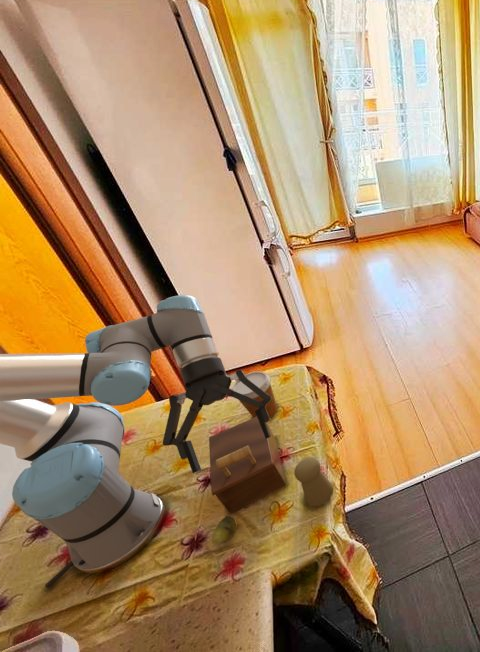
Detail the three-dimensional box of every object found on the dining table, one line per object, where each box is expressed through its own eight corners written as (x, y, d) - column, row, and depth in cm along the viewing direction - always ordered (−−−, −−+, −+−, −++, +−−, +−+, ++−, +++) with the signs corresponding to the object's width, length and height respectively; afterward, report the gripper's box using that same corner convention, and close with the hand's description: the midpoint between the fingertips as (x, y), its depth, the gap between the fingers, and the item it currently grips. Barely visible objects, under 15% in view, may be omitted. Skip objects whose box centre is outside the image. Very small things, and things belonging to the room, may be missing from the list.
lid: (273, 465, 80) (263, 448, 77) (213, 495, 75) (199, 478, 72) (263, 416, 92) (254, 399, 89) (210, 439, 87) (198, 422, 84)
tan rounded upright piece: (323, 475, 87) (310, 447, 81) (338, 490, 83) (325, 462, 78) (300, 495, 83) (284, 467, 77) (314, 512, 80) (299, 483, 74)
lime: (216, 551, 74) (205, 540, 71) (217, 530, 78) (207, 517, 75) (240, 540, 76) (230, 527, 73) (240, 519, 79) (231, 506, 77)
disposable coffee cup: (248, 406, 107) (231, 377, 100) (282, 395, 110) (268, 366, 104) (246, 430, 100) (228, 400, 93) (283, 417, 103) (268, 387, 96)
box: (286, 485, 85) (273, 462, 81) (230, 514, 80) (213, 492, 76) (275, 438, 97) (263, 416, 92) (226, 461, 92) (210, 439, 87)
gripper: (263, 343, 88) (296, 424, 86) (138, 389, 77) (171, 484, 75) (258, 337, 82) (293, 425, 79) (120, 386, 71) (155, 490, 68)
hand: (234, 454), depth 77 cm, fingers open, 13 cm apart
